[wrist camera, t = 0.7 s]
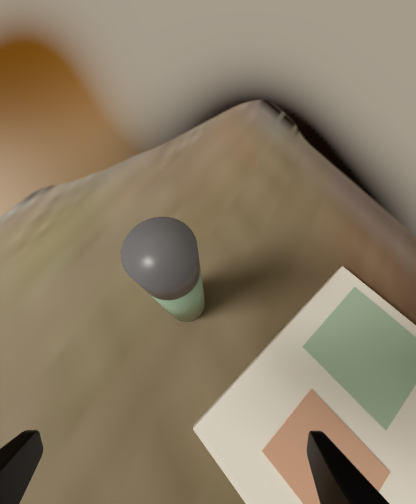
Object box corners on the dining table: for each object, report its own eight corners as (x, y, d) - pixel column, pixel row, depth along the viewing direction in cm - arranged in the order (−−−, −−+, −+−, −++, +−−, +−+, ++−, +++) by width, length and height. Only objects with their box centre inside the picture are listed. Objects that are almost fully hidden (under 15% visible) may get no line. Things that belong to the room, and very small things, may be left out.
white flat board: (469, 811, 12) (535, 929, 9) (193, 424, 18) (190, 435, 16) (586, 473, 17) (647, 494, 14) (337, 269, 24) (351, 260, 21)
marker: (184, 329, 21) (151, 303, 10) (162, 301, 23) (106, 247, 11) (212, 304, 22) (213, 251, 11) (189, 278, 24) (165, 204, 12)
